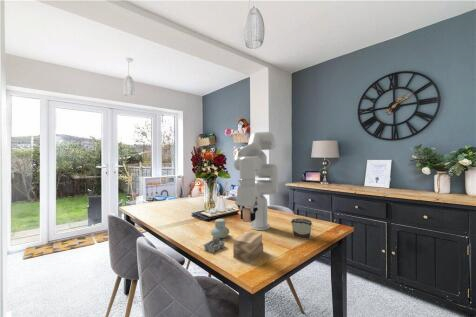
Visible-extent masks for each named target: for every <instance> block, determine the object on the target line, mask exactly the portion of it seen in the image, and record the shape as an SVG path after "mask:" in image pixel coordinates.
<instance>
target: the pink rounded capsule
mask: <svg viewBox="0 0 476 317" xmlns="http://www.w3.org/2000/svg"><path fill="white" fill-rule="evenodd" d="M250 213H252V212H251V208H250V207H246V206H245V208H243V219H242V221H243V222H244V223H249V222H252V221H251V220H250Z"/></svg>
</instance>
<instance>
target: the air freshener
mask: <svg viewBox="0 0 476 317" xmlns="http://www.w3.org/2000/svg"><path fill="white" fill-rule="evenodd" d="M210 233H211V234H210V235H211V236H212V237H213V238H215V237H217V238H219V239H225V238H227V237H228V235H229V234H230V228H229V227H227V226H226V220H225V219H224V218H218V219H215V220H214V227H212V228H211V230H210Z"/></svg>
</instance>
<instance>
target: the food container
mask: <svg viewBox="0 0 476 317" xmlns="http://www.w3.org/2000/svg"><path fill="white" fill-rule="evenodd" d="M290 223H291V228H292V234H293V235H292V237H293V238H299V239H303V240H308V239H309V240H311V233H312V232H311V231H312V227H313V222H312V221H311V219H307V218H301V217H299V218H292V219H291V221H290Z"/></svg>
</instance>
